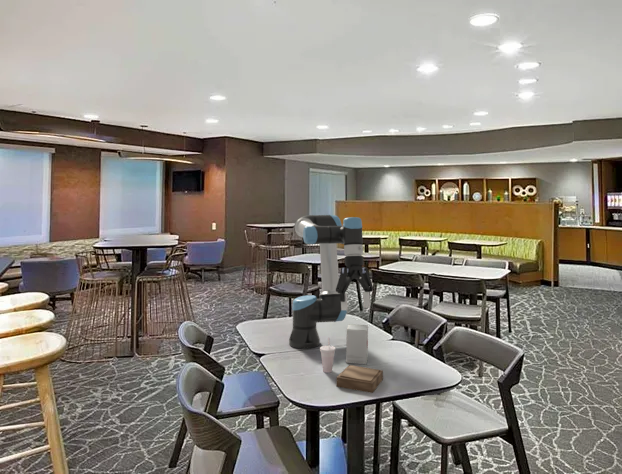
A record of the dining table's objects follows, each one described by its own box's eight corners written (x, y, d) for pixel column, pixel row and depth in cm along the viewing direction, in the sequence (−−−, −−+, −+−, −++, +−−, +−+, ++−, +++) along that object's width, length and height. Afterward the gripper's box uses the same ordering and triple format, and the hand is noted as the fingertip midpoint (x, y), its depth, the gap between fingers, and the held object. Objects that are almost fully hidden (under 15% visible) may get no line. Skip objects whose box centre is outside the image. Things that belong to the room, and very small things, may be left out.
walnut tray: (349, 373, 176) (349, 363, 176) (382, 379, 170) (383, 369, 170) (336, 386, 163) (336, 376, 163) (372, 393, 157) (372, 382, 157)
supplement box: (366, 364, 186) (367, 330, 185) (345, 363, 188) (346, 329, 187) (368, 357, 195) (368, 324, 194) (348, 356, 197) (348, 323, 196)
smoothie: (330, 375, 174) (330, 340, 173) (316, 371, 178) (316, 338, 177) (338, 370, 180) (338, 336, 179) (324, 367, 183) (324, 334, 182)
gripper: (339, 254, 164) (341, 311, 162) (380, 255, 181) (382, 307, 179) (325, 255, 169) (327, 311, 167) (366, 256, 187) (368, 306, 185)
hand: (355, 309), depth 173 cm, fingers open, 13 cm apart
